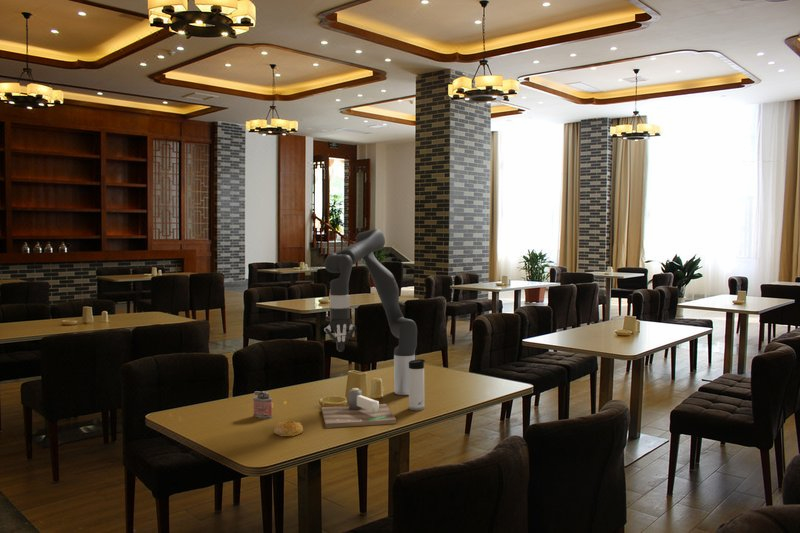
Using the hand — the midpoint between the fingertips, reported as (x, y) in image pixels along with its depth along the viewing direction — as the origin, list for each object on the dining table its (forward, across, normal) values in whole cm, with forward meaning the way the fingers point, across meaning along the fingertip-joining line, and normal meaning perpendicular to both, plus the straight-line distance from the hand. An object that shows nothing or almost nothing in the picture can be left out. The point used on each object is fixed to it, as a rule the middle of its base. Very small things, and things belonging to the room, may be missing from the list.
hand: (340, 351), depth 252 cm
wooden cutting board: (+26, +5, -3) cm, 26 cm away
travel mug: (+26, +31, 0) cm, 41 cm away
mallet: (+24, +8, -2) cm, 26 cm away
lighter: (+26, -29, +11) cm, 40 cm away
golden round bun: (+26, -23, -13) cm, 37 cm away
